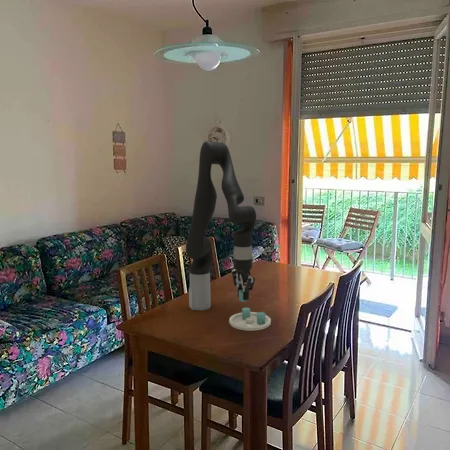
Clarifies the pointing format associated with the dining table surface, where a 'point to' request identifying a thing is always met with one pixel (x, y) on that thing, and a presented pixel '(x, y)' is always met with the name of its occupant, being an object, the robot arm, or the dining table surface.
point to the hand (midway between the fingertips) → (243, 298)
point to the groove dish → (248, 322)
